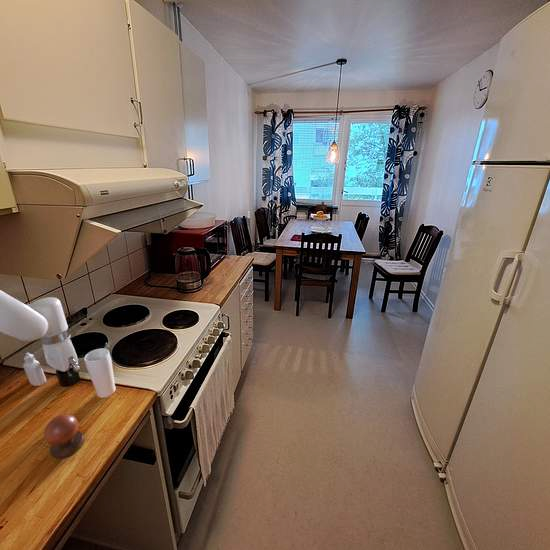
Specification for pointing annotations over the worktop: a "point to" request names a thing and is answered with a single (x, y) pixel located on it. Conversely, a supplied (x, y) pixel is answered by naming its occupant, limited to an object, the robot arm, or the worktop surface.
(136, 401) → the worktop surface
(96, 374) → the drinking glass
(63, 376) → the napkin ring
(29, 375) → the eye dropper bottle
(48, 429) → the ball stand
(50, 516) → the worktop surface
